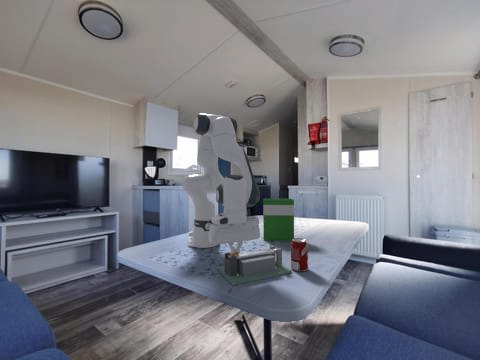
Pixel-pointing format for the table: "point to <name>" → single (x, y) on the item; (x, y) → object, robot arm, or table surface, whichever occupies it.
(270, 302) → the table surface
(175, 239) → the table surface
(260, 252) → the strap
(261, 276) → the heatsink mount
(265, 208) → the green cereal box
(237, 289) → the table surface
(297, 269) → the soda can
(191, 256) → the table surface
